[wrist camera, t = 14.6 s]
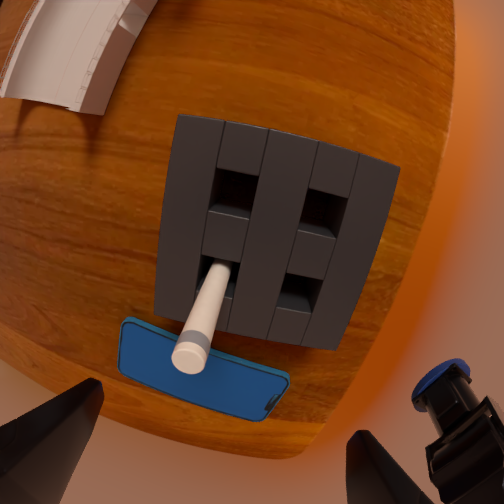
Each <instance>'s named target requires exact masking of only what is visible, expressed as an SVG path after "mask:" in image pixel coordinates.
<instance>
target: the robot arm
mask: <svg viewBox="0 0 504 504" xmlns="http://www.w3.org/2000/svg"><path fill="white" fill-rule="evenodd" d="M471 382H472V379H471V378H470V377H469V376H468V375H467V374H466V373H465V372H464V371H463V370H462V369H461V368H460V367H459V366H458V365H457V364H456V363H454V364H452V365H451V366H450V367H449V368H448V369H447V370H446V371H445V372H443V373H442V374H441V375H440V376H439V377H438V378H437V379H436V380H435V381H434V382H433V383H431V384H430V385H429V386H428V387H427V388H426V389H425V390H423V391H422V392H421V393H420V394H419V395H417V396H416V397H415V398H414V399H413V400H412V402H413V404H414V405H416V406H418V407H420V408H422V409H424V410H426V411H428V413H429V416H430V418H431V420H432V422H433V424H434V426H435V428H436V431H437V433H438V435H439V437H440V438H439V439H437V440H436V441H434V442H433V443H432V444H430V445H428V446H427V447H425V449H426V458H427V463H428V471H429V477H430V480H431V482H432V483H433V484H434V485H435V487H436V488H437V489H438V491H439V495H440V499H441V501H442V502H443V503H444V504H504V412H503V411H502V409H501V408H500V407H499V405H498V404H497V403H496V402H495V401H494V400H493V399H491V398H490V397H488V396H486V397H485V398H484V400H483V401H482V402H481V403H480V401H479V400H478V398H477V397H476V395H475V394H474V392H473V390H472V389H471V387H470V386H469V384H470V383H471ZM103 401H104V392H103V388H102V383H101V382H100V381H99V380H96V379H94V378H88V379H86V380H84V381H83V382H81V383H79V384H77V385H76V386H74V387H72V388H70V389H69V390H67V391H65V392H63V393H62V394H60V395H58V396H56V397H54V398H53V399H51V400H49V401H47V402H45V403H44V404H42V405H40V406H38V407H36V408H35V409H33V410H31V411H29V412H27V413H25V414H24V415H22V416H20V417H18V418H17V419H14V420H12V421H10V422H9V423H6V424H4V425H2V426H1V427H0V504H59V503H60V501H61V499H62V496H63V494H64V492H65V490H66V487H67V485H68V482H69V481H70V478H71V476H72V474H73V472H74V470H75V468H76V465H77V463H78V461H79V459H80V457H81V455H82V453H83V451H84V449H85V447H86V445H87V442H88V441H89V439H90V436H91V434H92V432H93V429H94V426H95V423H96V420H97V418H98V415H99V412H100V409H101V407H102V404H103ZM491 414H492V416H491V417H490V418H489V416H490V415H491ZM346 490H347V502H348V504H434V503H433V502H432V501H431V500H430V499H429V498H428V497H427V496H426V495H425V494H424V492H423V491H421V489H420V488H419V487H418V486H417V485H416V484H415V483H414V481H413V480H412V479H411V478H410V477H409V476H408V475H407V474H406V473H405V472H404V470H403V469H402V468H401V467H400V466H399V465H398V463H397V462H396V461H395V460H394V459H393V458H392V457H391V455H390V454H389V453H388V452H387V451H386V450H385V449H384V447H382V445H381V444H380V443H379V442H378V441H377V439H376V438H375V437H374V436H373V435H372V434H371V432H370V431H368V430H358V431H356V432H355V434H354V435H353V436H352V437H351V438H350V440H349V441H348V443H347V446H346Z"/></svg>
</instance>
